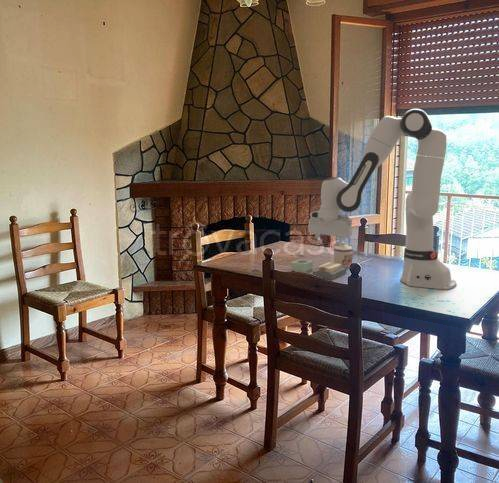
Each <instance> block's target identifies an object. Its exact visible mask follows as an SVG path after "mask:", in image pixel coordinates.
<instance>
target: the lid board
mask: <svg viewBox="0 0 499 483" xmlns="http://www.w3.org/2000/svg"><path fill="white" fill-rule="evenodd" d="M317 269H318V271H321V272H327V273H332V272H334V271H337V270H339V269H341V264H337V263H334V262H329V261H328V262H326V263H323V264H321V265H319V266H317Z"/></svg>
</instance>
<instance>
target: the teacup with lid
mask: <svg viewBox="0 0 499 483" xmlns="http://www.w3.org/2000/svg"><path fill="white" fill-rule="evenodd" d="M354 255H355V252H354V249H353V247H352V246H349V245H348V244H346V242H344V241H342V242H341V246H340V247H338V246H334V248H333V263H337V264H341V268H346V269H350V268H349V266H350V265H351V264H352V265H353V258H354Z"/></svg>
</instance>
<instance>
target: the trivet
mask: <svg viewBox="0 0 499 483" xmlns="http://www.w3.org/2000/svg"><path fill="white" fill-rule="evenodd" d="M346 274H347V268H341V269H339V270H337V271H334V272H332V273H327V272H321V271H318V268H317V269H314V270H312V276H313V275H316V276H319V277H322V278H321V279H324V278H325V280H331V281H333V280H336V279H338V278H339V277H342V276H344V275H346Z"/></svg>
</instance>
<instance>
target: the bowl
mask: <svg viewBox="0 0 499 483" xmlns="http://www.w3.org/2000/svg"><path fill="white" fill-rule="evenodd" d="M313 264H314V263H313V260H307V259H300V258H299V259H297V260H294V261H291V272H292V271H298V272H305V274H308V273H310V272H313Z"/></svg>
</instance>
